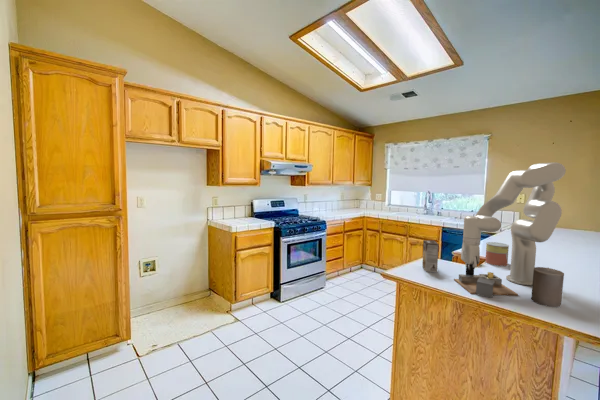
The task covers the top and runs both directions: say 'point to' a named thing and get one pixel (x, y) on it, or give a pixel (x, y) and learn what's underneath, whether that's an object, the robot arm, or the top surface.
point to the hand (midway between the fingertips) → (469, 276)
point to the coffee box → (430, 255)
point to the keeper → (485, 287)
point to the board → (496, 289)
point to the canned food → (497, 254)
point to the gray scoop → (475, 277)
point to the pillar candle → (547, 286)
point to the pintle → (490, 275)
